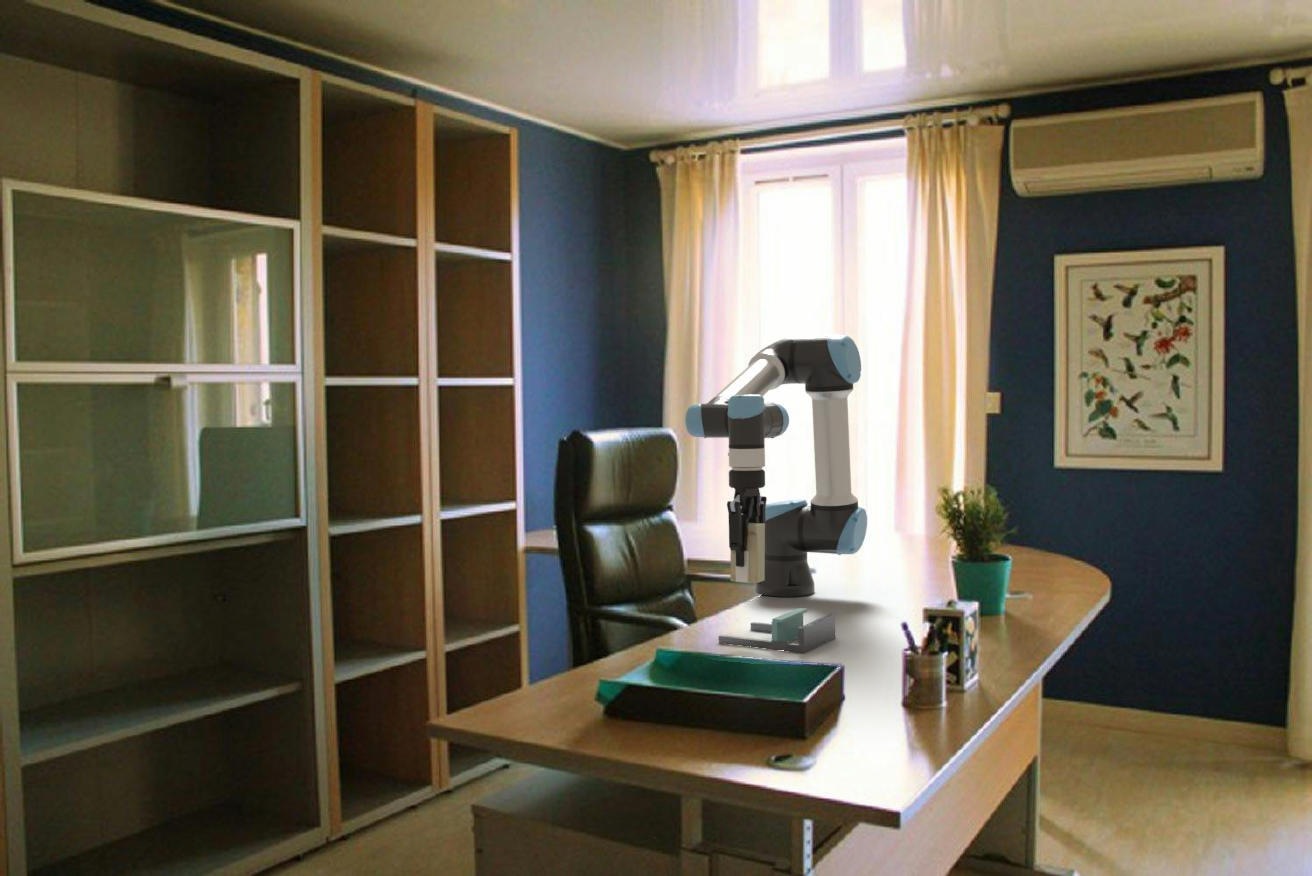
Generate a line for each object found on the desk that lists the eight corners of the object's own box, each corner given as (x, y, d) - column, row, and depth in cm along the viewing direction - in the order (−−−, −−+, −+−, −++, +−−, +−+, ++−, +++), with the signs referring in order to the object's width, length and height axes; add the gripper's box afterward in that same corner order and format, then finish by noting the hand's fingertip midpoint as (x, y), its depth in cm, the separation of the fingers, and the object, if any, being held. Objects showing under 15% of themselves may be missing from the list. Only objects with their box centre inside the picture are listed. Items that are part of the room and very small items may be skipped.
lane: (753, 628, 244) (753, 606, 244) (835, 638, 234) (835, 614, 234) (718, 643, 231) (718, 619, 231) (804, 653, 221) (803, 628, 221)
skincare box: (729, 581, 235) (728, 524, 235) (739, 578, 239) (738, 521, 238) (757, 584, 232) (756, 525, 231) (766, 580, 236) (765, 522, 235)
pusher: (791, 633, 238) (791, 607, 237) (807, 635, 236) (807, 608, 235) (765, 645, 227) (764, 618, 227) (781, 647, 225) (781, 619, 225)
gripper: (750, 465, 244) (751, 572, 245) (710, 471, 229) (711, 585, 230) (781, 466, 240) (782, 575, 241) (743, 472, 225) (744, 588, 226)
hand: (748, 579), depth 235 cm, fingers closed on skincare box, 4 cm apart
